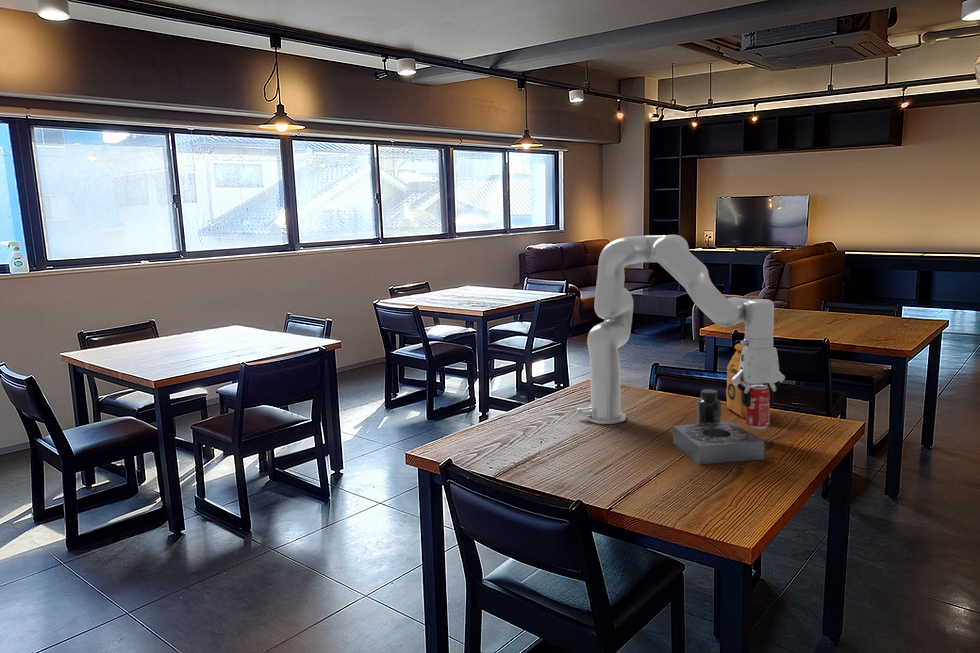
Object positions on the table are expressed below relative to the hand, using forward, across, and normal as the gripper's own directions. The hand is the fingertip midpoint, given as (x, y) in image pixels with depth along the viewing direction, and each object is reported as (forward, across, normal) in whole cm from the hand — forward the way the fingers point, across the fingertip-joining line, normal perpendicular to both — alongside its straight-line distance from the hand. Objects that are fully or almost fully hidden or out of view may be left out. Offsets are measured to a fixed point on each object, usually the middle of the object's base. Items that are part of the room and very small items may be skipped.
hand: (757, 404), depth 196 cm
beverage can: (+7, 0, 0) cm, 7 cm away
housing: (+10, -15, -6) cm, 19 cm away
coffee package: (+11, +9, +25) cm, 29 cm away
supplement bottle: (+11, -9, +12) cm, 18 cm away
